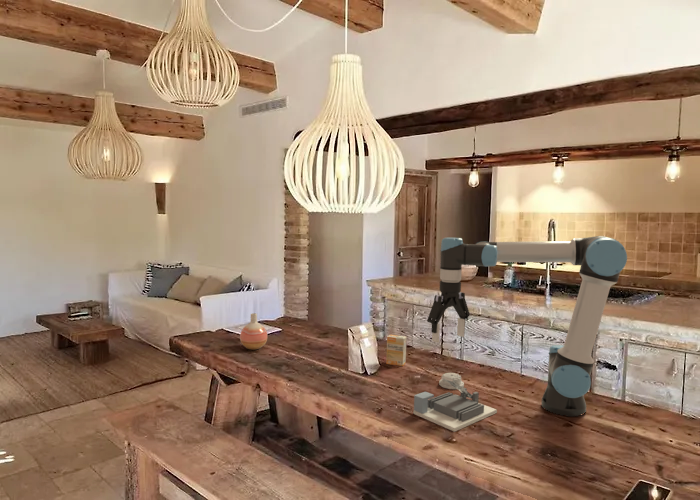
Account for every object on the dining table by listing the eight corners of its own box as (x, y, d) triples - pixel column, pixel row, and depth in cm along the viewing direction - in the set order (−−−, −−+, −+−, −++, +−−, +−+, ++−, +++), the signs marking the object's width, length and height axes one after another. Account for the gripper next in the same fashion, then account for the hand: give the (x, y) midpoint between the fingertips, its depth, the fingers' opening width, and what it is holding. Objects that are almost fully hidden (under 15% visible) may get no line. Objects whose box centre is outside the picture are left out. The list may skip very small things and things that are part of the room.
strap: (475, 400, 183) (476, 396, 183) (452, 382, 173) (453, 378, 173) (464, 396, 186) (465, 392, 187) (440, 378, 177) (442, 374, 177)
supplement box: (385, 364, 233) (386, 336, 232) (389, 361, 238) (389, 334, 236) (403, 366, 230) (403, 338, 229) (406, 363, 235) (406, 336, 233)
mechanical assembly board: (496, 412, 181) (497, 395, 180) (454, 431, 165) (455, 412, 164) (456, 397, 194) (456, 381, 194) (413, 413, 179) (413, 396, 178)
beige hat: (438, 388, 204) (464, 391, 202) (439, 378, 203) (464, 380, 201) (439, 380, 214) (463, 382, 212) (439, 370, 213) (464, 372, 211)
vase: (273, 347, 258) (273, 313, 256) (254, 353, 246) (254, 318, 245) (253, 342, 265) (253, 309, 263) (234, 349, 254) (234, 314, 252)
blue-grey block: (433, 409, 179) (433, 394, 179) (422, 413, 176) (422, 398, 175) (424, 405, 182) (425, 391, 182) (413, 410, 179) (414, 395, 178)
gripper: (464, 276, 192) (462, 331, 194) (418, 282, 177) (416, 341, 178) (480, 279, 186) (478, 335, 188) (434, 285, 171) (432, 346, 173)
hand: (448, 338), depth 183 cm, fingers open, 13 cm apart
